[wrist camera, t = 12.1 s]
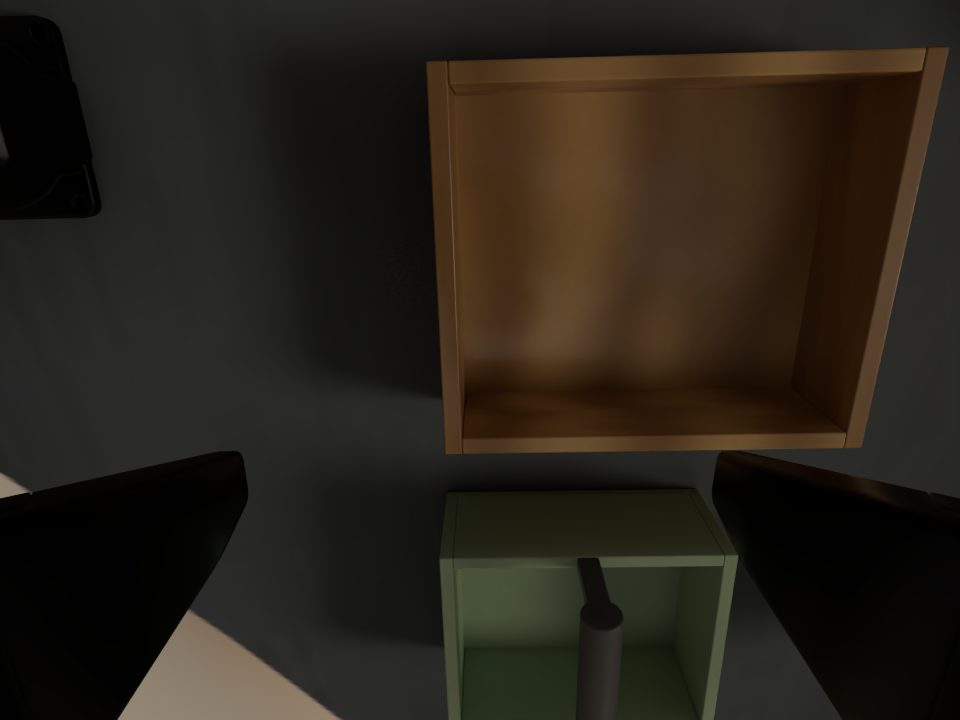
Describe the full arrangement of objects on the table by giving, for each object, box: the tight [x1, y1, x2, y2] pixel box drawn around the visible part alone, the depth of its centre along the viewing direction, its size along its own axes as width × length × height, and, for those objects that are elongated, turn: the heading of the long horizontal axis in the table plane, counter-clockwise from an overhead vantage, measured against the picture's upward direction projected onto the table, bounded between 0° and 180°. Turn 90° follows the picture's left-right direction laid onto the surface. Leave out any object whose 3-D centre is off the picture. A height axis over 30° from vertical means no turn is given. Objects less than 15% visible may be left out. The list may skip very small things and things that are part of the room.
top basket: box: [439, 489, 738, 720], centre depth 24 cm, size 11×9×8 cm
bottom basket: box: [426, 47, 949, 454], centre depth 20 cm, size 14×12×4 cm
